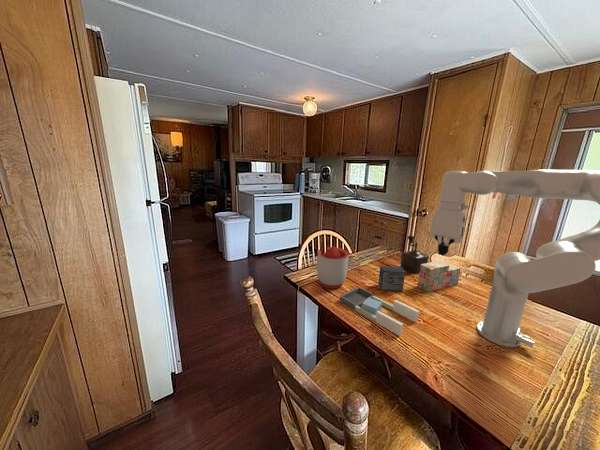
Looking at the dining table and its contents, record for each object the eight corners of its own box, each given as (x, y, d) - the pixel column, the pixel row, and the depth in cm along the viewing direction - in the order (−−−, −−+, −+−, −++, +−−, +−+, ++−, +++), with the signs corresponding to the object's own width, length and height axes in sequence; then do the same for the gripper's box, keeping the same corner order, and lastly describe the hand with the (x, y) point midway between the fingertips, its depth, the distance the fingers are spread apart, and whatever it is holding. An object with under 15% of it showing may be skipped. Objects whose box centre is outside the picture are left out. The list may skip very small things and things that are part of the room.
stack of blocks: (446, 279, 131) (450, 258, 127) (457, 284, 125) (462, 262, 122) (417, 286, 123) (420, 263, 120) (427, 292, 117) (431, 268, 114)
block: (381, 310, 102) (382, 302, 101) (375, 317, 97) (376, 308, 96) (367, 305, 105) (368, 297, 104) (361, 311, 101) (362, 303, 100)
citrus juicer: (329, 272, 136) (330, 238, 131) (353, 285, 122) (356, 247, 117) (307, 280, 126) (308, 244, 121) (331, 294, 113) (333, 254, 108)
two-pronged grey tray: (417, 321, 95) (419, 311, 94) (399, 336, 87) (401, 325, 86) (358, 291, 117) (359, 282, 116) (339, 300, 108) (340, 291, 107)
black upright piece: (427, 271, 139) (432, 241, 135) (412, 274, 136) (417, 243, 131) (407, 261, 153) (411, 234, 149) (393, 263, 150) (397, 235, 145)
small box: (399, 285, 123) (401, 266, 120) (403, 292, 117) (406, 272, 114) (377, 284, 124) (380, 265, 121) (380, 290, 118) (383, 270, 115)
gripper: (478, 208, 83) (468, 258, 88) (433, 202, 95) (426, 246, 99) (471, 211, 79) (460, 263, 83) (424, 204, 90) (417, 250, 95)
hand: (442, 254), depth 91 cm, fingers closed
